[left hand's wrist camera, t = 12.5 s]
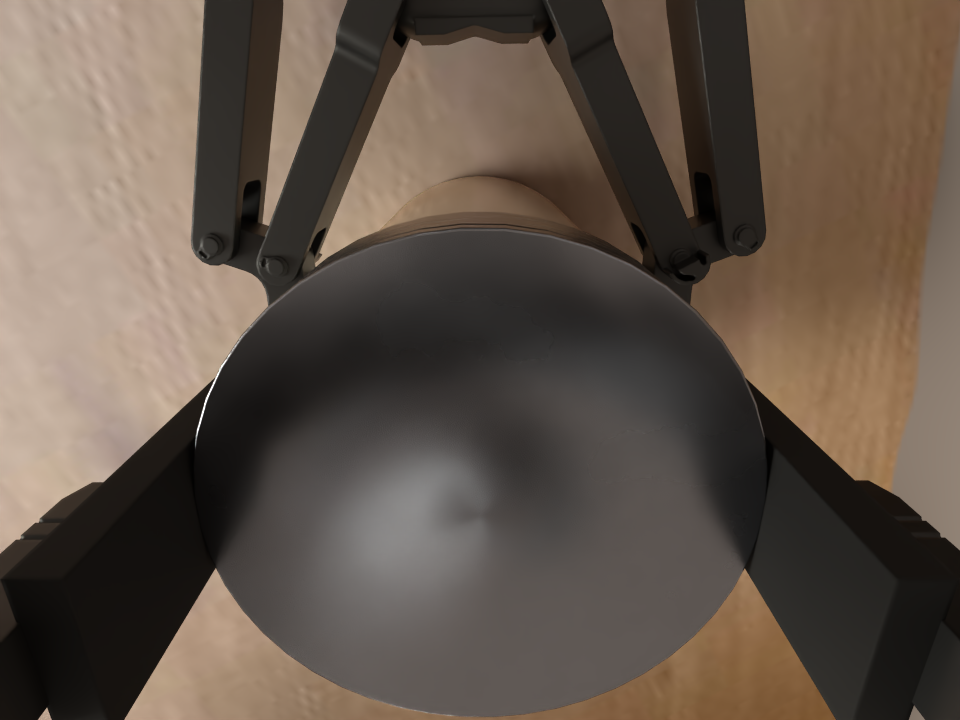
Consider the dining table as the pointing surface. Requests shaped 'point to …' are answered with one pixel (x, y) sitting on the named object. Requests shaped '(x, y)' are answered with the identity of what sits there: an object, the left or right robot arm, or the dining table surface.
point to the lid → (480, 467)
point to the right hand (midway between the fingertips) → (482, 455)
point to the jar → (479, 200)
